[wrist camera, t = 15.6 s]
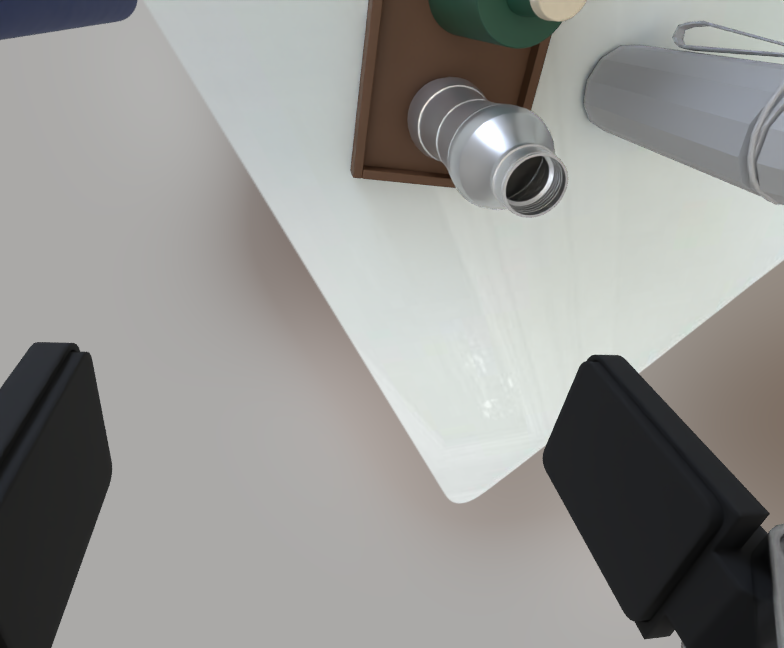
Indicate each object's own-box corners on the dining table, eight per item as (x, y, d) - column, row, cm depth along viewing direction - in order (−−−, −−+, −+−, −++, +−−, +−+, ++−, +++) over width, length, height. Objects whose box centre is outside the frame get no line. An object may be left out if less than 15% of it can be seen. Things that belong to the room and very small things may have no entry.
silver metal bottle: (401, 74, 42) (479, 127, 25) (481, 70, 42) (606, 119, 26) (402, 154, 45) (470, 247, 29) (475, 149, 46) (582, 236, 30)
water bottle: (633, 138, 49) (891, 243, 28) (562, 120, 47) (785, 219, 26) (683, 31, 44) (1033, 61, 24) (607, 5, 42) (920, 14, 21)
